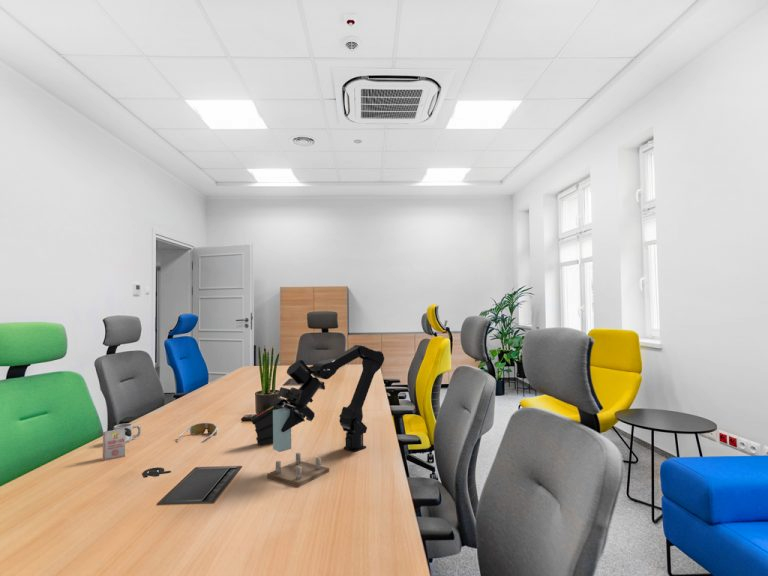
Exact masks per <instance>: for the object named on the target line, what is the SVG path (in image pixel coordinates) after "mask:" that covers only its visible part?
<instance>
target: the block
mask: <svg viewBox="0 0 768 576" xmlns="http://www.w3.org/2000/svg"><path fill="white" fill-rule="evenodd" d="M289 416H290V410H289V409H286V408H282V409H277V410H273V443H272V449H273V450H275V451H277V452H279V453H281V452H286V451H289V450H292V428H290V429H288V430H287V431H285V432H282V431H281V429H282V427H283V426H284V424H285V422H286V421H287V419H288V417H289Z"/></svg>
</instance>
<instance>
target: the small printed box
mask: <svg viewBox="0 0 768 576" xmlns="http://www.w3.org/2000/svg"><path fill="white" fill-rule="evenodd" d="M124 457H126V443H125V428H124V429H118V430H114V429H113V430H106V431H103V433H102V461H108V460H110V461H111V460H115V459H119V458H124Z"/></svg>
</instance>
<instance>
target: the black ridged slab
mask: <svg viewBox="0 0 768 576" xmlns="http://www.w3.org/2000/svg"><path fill="white" fill-rule="evenodd" d="M277 409H279V408H278V406H277V405H276V404H274V403H273V404H272V405H271V406H269V407H267V408H265V409H264V410H262V411H260V412H257V414H255V415H253V416H252V417H251V416H250V419H251V424H252V425H254V428H255V429H254V430H255V434H256V438H255V439H256V442H257V446H263V445H270V444H273V410H277Z"/></svg>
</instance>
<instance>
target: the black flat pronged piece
mask: <svg viewBox="0 0 768 576" xmlns="http://www.w3.org/2000/svg"><path fill="white" fill-rule="evenodd" d="M171 473H172V471H171V470H165V468H164V467H156V466H155V467H152V468H151V467H150V468H148V469H145V470H144V471H143V473H142V474H143V475H142V476H143V478H148V476H150V477H160V475H164V474H171Z"/></svg>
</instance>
